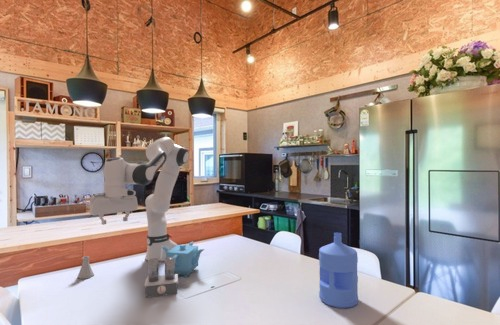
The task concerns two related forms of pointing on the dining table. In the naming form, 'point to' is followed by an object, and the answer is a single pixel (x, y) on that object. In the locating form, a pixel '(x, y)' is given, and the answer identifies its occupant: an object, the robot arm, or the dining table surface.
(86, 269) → the flask
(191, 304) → the dining table surface
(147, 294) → the scale
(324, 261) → the water jug
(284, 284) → the dining table surface
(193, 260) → the teakettle
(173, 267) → the cylinder
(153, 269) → the ball
